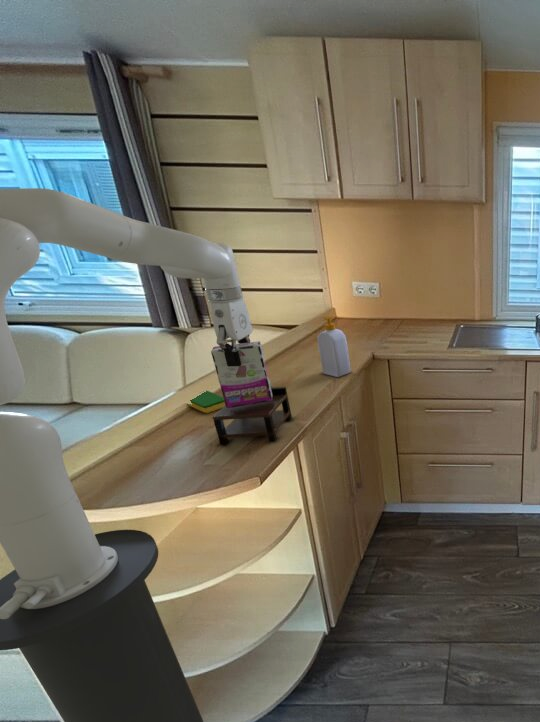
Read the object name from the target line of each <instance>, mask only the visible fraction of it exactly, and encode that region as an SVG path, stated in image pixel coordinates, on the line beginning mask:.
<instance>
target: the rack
mask: <svg viewBox="0 0 540 722" xmlns="http://www.w3.org/2000/svg"><path fill="white" fill-rule="evenodd" d="M271 390H272V401H267V402H262V403H256V404H250V405H244V406H239V407H233V408H226V406H225V407H223V408H220V409H219V411H217V412H216V413H215V414H214V415H213V416H212V420H213V424H214V427H215V431H216V435H217V437H218V438H217V439H218V442H219V445H220V446H226V445H227V444H228V443H229V442H230V440H229V439H232V438H233V439H234V438H249V437H263V436H265V437H266V436H267V437H268V442H269V443H270V442H276V441H277V439H278V438H277V434H276V433H277V431H278V430H279V429H280V428H281V426H282V425H283V424H284V422H290V421H292V419H293V415H292V411H291V406H290V401H289V396H288V391H287V387H286V386H280V387H279V386H278V387H271ZM281 405H282V406H281ZM280 406H281V407H282V409H279V410H278V408H279V407H280ZM224 420H225V421H226V420H232V421H231V422H230V423H229V424H228V425H227V426H225V422H224Z"/></svg>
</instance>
